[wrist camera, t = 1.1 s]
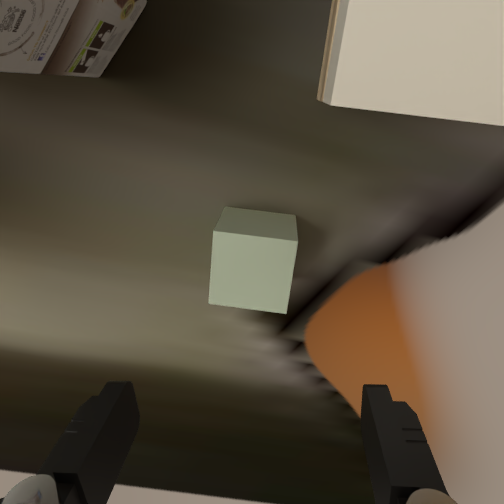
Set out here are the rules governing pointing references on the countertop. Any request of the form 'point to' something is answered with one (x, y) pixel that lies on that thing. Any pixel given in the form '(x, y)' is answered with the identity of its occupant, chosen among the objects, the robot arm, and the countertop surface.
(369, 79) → the tower top
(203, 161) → the countertop surface
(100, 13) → the coffee box
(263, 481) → the countertop surface
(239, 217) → the sage cube
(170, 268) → the countertop surface
